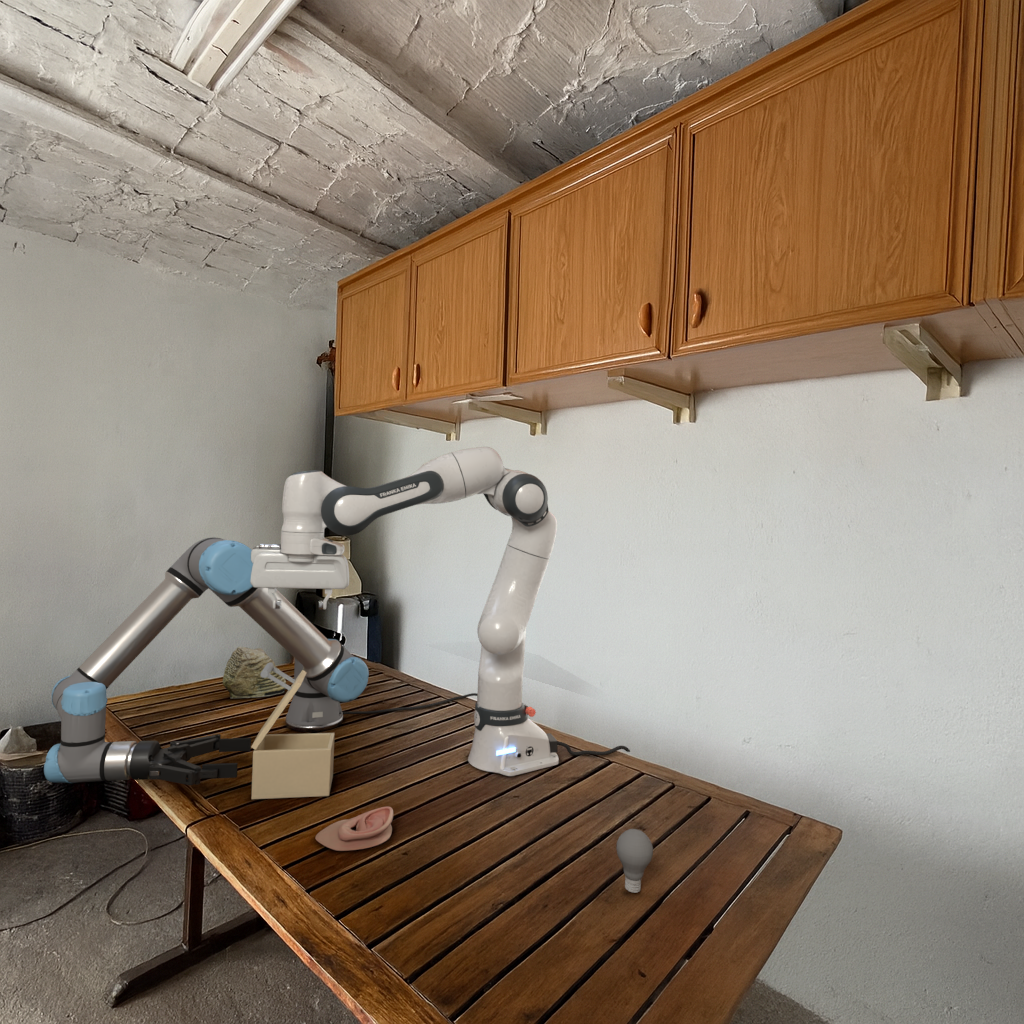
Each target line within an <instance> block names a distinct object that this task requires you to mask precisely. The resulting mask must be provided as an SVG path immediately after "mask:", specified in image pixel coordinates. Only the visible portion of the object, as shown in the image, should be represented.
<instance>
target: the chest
mask: <svg viewBox="0 0 1024 1024" xmlns="http://www.w3.org/2000/svg"><path fill="white" fill-rule="evenodd" d="M335 733H336V732H307V733H275V734H273V733H272V734H270V733H269V734H266V736H265V737H264V739H263V740H262V742H261V743H260V744H259V746H258V747H257V749H256V750H255V749H253V752H252V771H251V772H252V773H251V797H250V799H251V800H266V799H268V800H269V799H289V798H309V797H312V798H313V797H329V796H330V794H331V788H332V784H333V783H332V782H333V778H334V762H335V761H334V759H335V758H334V757H335Z"/></svg>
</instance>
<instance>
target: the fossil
mask: <svg viewBox="0 0 1024 1024" xmlns="http://www.w3.org/2000/svg"><path fill="white" fill-rule="evenodd" d="M270 662H271V663H273V664H274V667H275V668H277V669H278V670H280V669H279V668H278V667H277V665H276V663H275V662H274V660H273V659H272V658H271V657H270V656H269V655H268V654H267V653H266V652H265V650H264V649H263V648H260V647H258V648H251V647H247V646H246V647H245V646H238V647H237V648H236V649H235V650H233V651H232V653H231V656H230V657H229V659H228V660H227V663H226V666H225V668H224V671H223V675H222V676H223V677H222V685H223V687H224V688H225V690H226V691H228V693H229V698H230V699H250V698H264V697H271V696H275V695H281V694H284V693H285V691H286V690H287V689H286V688H284V687H282V686H281V685H279V684H277V683H276V682H274V681H272V680H271V679H269V678H267V677H266V678H262V677H261V675H260V674H261V672H262V670H263V669H264V667H265V666H266V665H267V663H270ZM270 674H271V675H272V676H274V677H276V678H277V679H279V680H281V681H282V682H284V683H286V684H287V679H285V678H283V677H282V676H280V675H279V674H277V673H275V672H274V671H271V672H270Z"/></svg>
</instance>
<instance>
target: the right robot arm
mask: <svg viewBox="0 0 1024 1024" xmlns="http://www.w3.org/2000/svg"><path fill="white" fill-rule="evenodd" d="M503 462H504V461H503V459H502V457H501V456H500V454H499V452H497V450H495V449H494V448H492V447H490V446H477V447H470V448H464V449H459V450H454V451H451V452H448V453H444V454H441V455H438V456H436V457H434V458H432V459H430V460H428V461H426V462H424V463H422V464H421V466H419V468H417V469H416V471H414V472H412V473H410V474H409V475H407V476H404V477H402V478H399V479H396V480H393V481H388V482H386V483H383V484H379V485H375V486H371V487H357V486H352V485H345V484H343V483H341V482H338V481H337V480H335V479H333V478H332V477H330V476H328V475H327V474H325V473H324V471H322V470H319V469H313V470H311V469H310V470H302V471H296V472H293V473H291V474H290V475H289V476H288V477H287V478H286V479H285V482H284V484H283V485H284V486H283V493H282V500H281V501H282V502H281V503H282V505H281V513H282V516H283V521H282V522H283V523H282V526H281V529H280V543H276V544H275V543H273V544H266V543H259V544H258V545H256V546H254V547H253V548H252V549H251V550H252V551H251V561H252V563H253V567H252V572H251V580H250V583H251V585H252V586H253V587H254V588H268V594H269V596H270V598H271V599H272V601H273V609H280V608H281V600H278V599H277V597H276V596H275V594H274V593H275V592H276V589H305V590H306V589H308V590H309V589H311V590H312V589H313V590H315V589H316V590H317V589H318V590H324V595H326V596H325V597H324V599H323V600H321V599H320V600H319V601H318V610H321V611H322V610H325V611H326V610H327V605H328V601H329V599H330V597H331V595H332V594H333V590H346V589H347V588H348V587H349V585H350V569H349V568H350V567H349V561H348V558H347V557H346V556H345V555H344V553H345V545H344V544H343V543H341V542H338V541H335V540H333V539H329V538H326V537H325V529H326V528H328V529H329V531H331V532H332V533H334V534H336V535H340V536H347V537H348V536H354V535H357V534H359V533H361V532H362V531H364V530H365V529H366V528H367V527H369V526H370V525H371V524H372V523H373V522H375V521H376V520H377V519H378V518H381V517H383V516H386V515H389V514H392V513H395V512H399V511H403V510H404V509H408V508H411V507H414V506H419V505H439V504H447V503H453V502H457V501H460V500H464V499H467V498H469V497H473V496H475V495H483V496H484V498H485V499H486V501H487V502H488V504H489V506H491V507H492V508H493V509H494V510H495V511H498V512H499V513H501V514H503V515H504V516H507V517H510V518H511V522H512V527H511V532H510V536H509V539H508V541H507V544H506V545H505V550H504V552H503V555H502V558H501V561H500V564H499V567H498V570H497V572H496V575H495V578H494V581H493V583H492V585H491V589H490V591H489V594H488V596H487V599H486V602H485V604H484V607H483V609H482V611H481V612H482V613H481V615H480V618H479V621H478V624H477V628H476V629H477V631H476V632H477V638H478V640H479V643H480V646H481V647H480V657H479V664H478V671H477V672H478V674H477V676H478V677H477V696H476V697H477V698H476V702H475V704H474V713H473V720H474V721H473V722H474V723H473V724H474V733H473V739H472V743H471V747H470V751H469V754H468V757H467V762H468V763H469V764H470V765H471V766H472V767H473V768H475V769H478V770H480V771H484V772H487V773H488V772H489V773H496V774H500V775H503V776H506V777H515V776H519V775H523V774H526V773H531V772H535V771H537V770H542V769H546V768H550V767H553V766H558V765H559V763H560V759H559V755H558V754H557V753H558V747H559V746H561V747H564V748H565V749H566V751H567V753H568V754H569V755H571V756H576V757H577V756H583V755H593V756H607V755H608V756H609V755H610V754H614V753H615V752H617V751H619V750H623V751H625V752H626V753H630V752H631V749H630V748H628V747H627V746H625V745H618V746H615V747H613V748H611V749H609V750H604V751H598V750H597V751H596V750H579V751H573V750H572V749H571V747H570V745H568V744H567V743H565V742H562V741H559V740H557V738H555V736H554V735H553V734H552V733H551V732H550V733H549V732H548V733H546V732H545V730H544V729H542V728H541V727H540V726H539V725H538V724H536V722H534V721H533V720H531V719H530V718H534V717H535V715H536V713H537V712H536V709H535V708H533V707H532V706H529V705H528V704H526V703H524V702H523V687H524V684H523V683H524V667H525V654H526V653H525V652H526V638H527V637H526V636H527V627H528V624H529V620H530V617H531V615H532V612H533V609H534V606H535V603H536V600H537V597H538V594H539V591H540V588H541V585H542V584H543V581H544V580H543V579H544V577H545V574H546V571H547V568H548V565H549V562H550V559H551V556H552V553H553V550H554V546H555V543H556V542H555V541H556V536H557V530H558V520H557V518H556V516H555V515H554V514H553V513H552V512H551V511H549V504H548V502H549V501H548V500H549V497H548V491H547V488H546V486H545V484H544V483H543V482H542V480H541V479H539V477H538V476H535V475H534V474H530V473H528V472H525V471H523V470H518V469H517V470H516V469H515V470H514V469H510V468H506V467H505V466H504V463H503ZM529 717H530V718H529Z"/></svg>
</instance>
